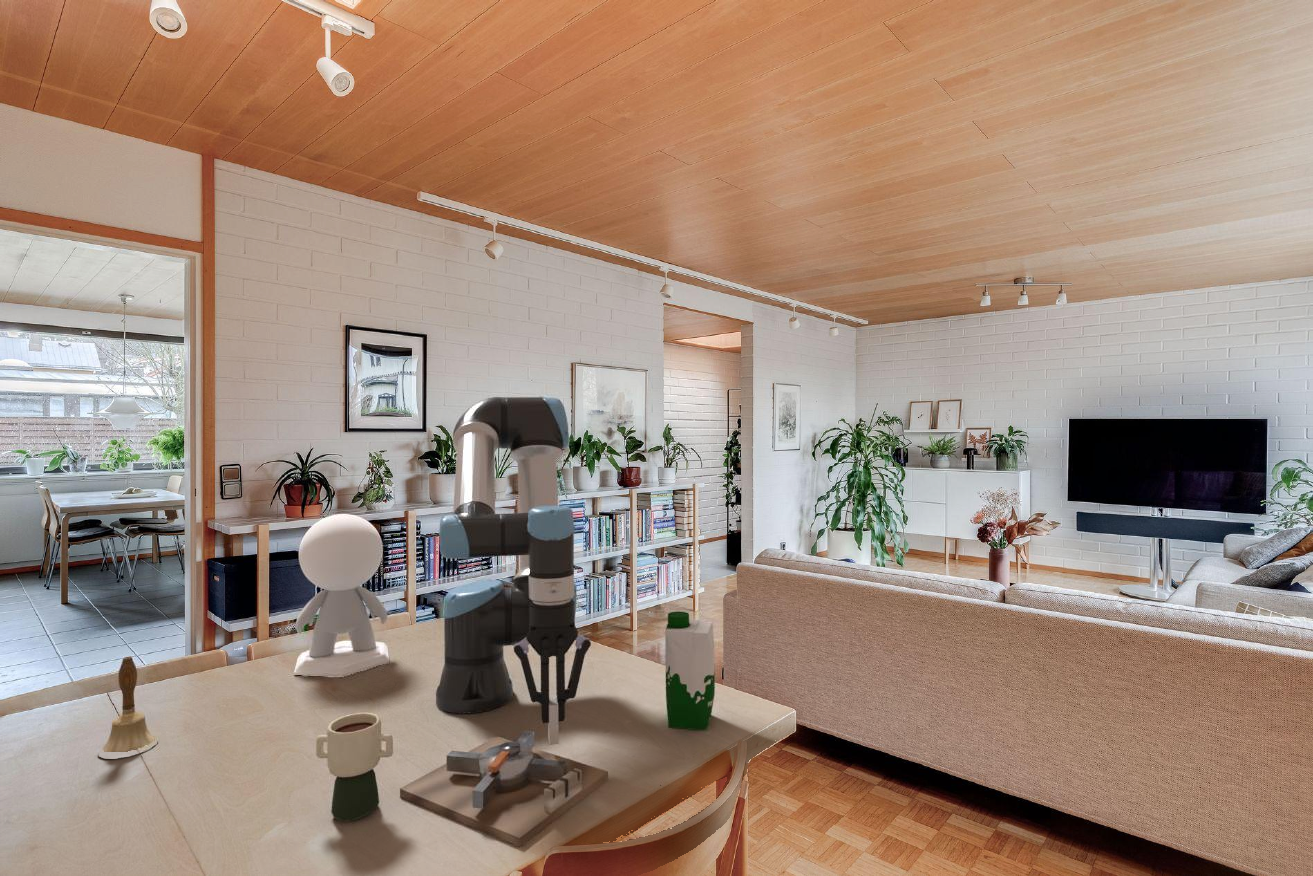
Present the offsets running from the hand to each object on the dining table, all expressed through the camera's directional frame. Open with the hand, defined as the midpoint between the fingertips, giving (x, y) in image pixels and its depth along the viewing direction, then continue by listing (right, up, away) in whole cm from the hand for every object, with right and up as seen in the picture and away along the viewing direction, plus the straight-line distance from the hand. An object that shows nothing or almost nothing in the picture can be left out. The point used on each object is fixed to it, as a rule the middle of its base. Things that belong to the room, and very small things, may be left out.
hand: (553, 740), depth 113 cm
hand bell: (-75, -4, +5) cm, 75 cm away
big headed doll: (-57, -3, +48) cm, 75 cm away
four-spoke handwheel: (-6, -2, -9) cm, 11 cm away
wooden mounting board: (-6, -3, -9) cm, 11 cm away
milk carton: (+24, -3, +14) cm, 27 cm away
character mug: (-26, -4, -16) cm, 31 cm away
